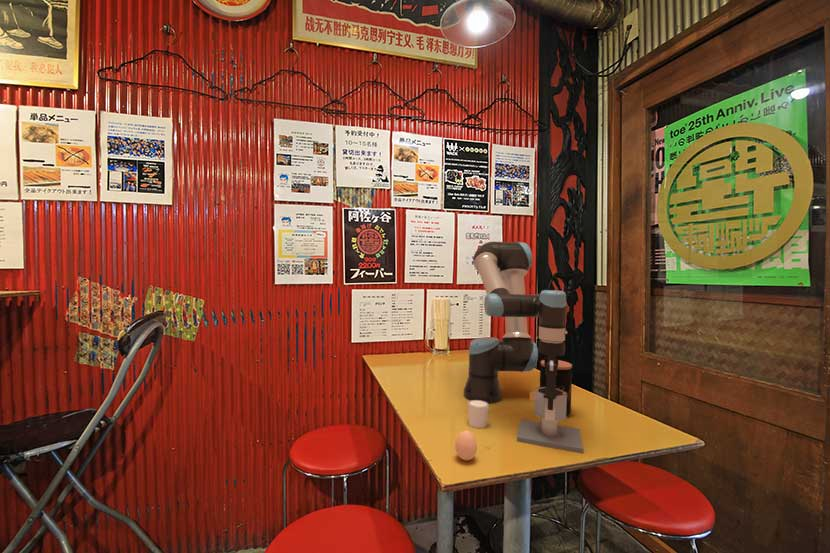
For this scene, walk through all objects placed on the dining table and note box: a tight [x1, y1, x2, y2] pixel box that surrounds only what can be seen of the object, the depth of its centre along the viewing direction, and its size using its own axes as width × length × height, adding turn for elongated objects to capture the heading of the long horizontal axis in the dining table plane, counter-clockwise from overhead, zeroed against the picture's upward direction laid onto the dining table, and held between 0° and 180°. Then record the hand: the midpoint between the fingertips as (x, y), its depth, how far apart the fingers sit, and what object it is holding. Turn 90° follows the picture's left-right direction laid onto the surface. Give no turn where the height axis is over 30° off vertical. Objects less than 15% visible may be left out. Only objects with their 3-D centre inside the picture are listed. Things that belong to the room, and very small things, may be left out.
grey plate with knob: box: [516, 418, 584, 454], centre depth 109 cm, size 18×14×8 cm
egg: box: [454, 430, 478, 461], centre depth 95 cm, size 6×6×8 cm
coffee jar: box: [539, 359, 573, 418], centre depth 128 cm, size 11×11×18 cm
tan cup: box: [467, 400, 490, 429], centre depth 117 cm, size 7×7×7 cm
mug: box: [529, 386, 567, 422], centre depth 109 cm, size 10×9×7 cm
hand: (549, 413), depth 109 cm, fingers closed on mug, 9 cm apart
